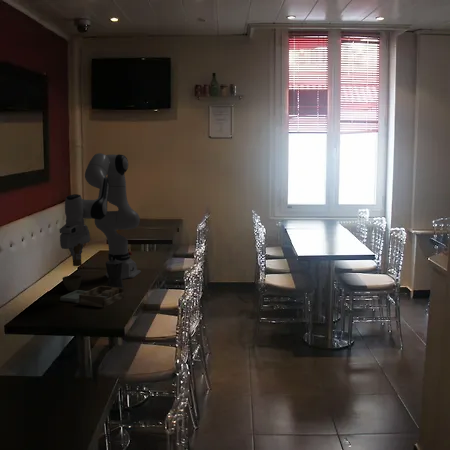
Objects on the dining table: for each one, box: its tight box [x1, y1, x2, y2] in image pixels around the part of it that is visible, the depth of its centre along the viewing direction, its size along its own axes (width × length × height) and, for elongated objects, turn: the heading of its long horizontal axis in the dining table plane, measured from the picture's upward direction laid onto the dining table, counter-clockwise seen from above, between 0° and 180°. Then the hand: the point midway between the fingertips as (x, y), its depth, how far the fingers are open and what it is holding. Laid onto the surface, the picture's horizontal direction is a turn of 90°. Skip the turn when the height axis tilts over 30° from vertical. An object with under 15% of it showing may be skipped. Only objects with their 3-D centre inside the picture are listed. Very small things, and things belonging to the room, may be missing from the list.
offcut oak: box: [110, 288, 119, 296], centre depth 282 cm, size 5×4×5 cm
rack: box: [78, 285, 125, 309], centre depth 278 cm, size 18×14×5 cm
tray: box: [59, 289, 88, 304], centre depth 284 cm, size 14×10×2 cm
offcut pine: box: [102, 290, 113, 298], centre depth 276 cm, size 4×4×6 cm
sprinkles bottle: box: [71, 239, 83, 267], centre depth 280 cm, size 5×5×14 cm
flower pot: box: [62, 274, 83, 292], centre depth 299 cm, size 10×10×7 cm
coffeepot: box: [105, 257, 125, 289], centre depth 300 cm, size 15×9×18 cm, turn 25°
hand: (76, 254), depth 280 cm, fingers closed on sprinkles bottle, 4 cm apart
